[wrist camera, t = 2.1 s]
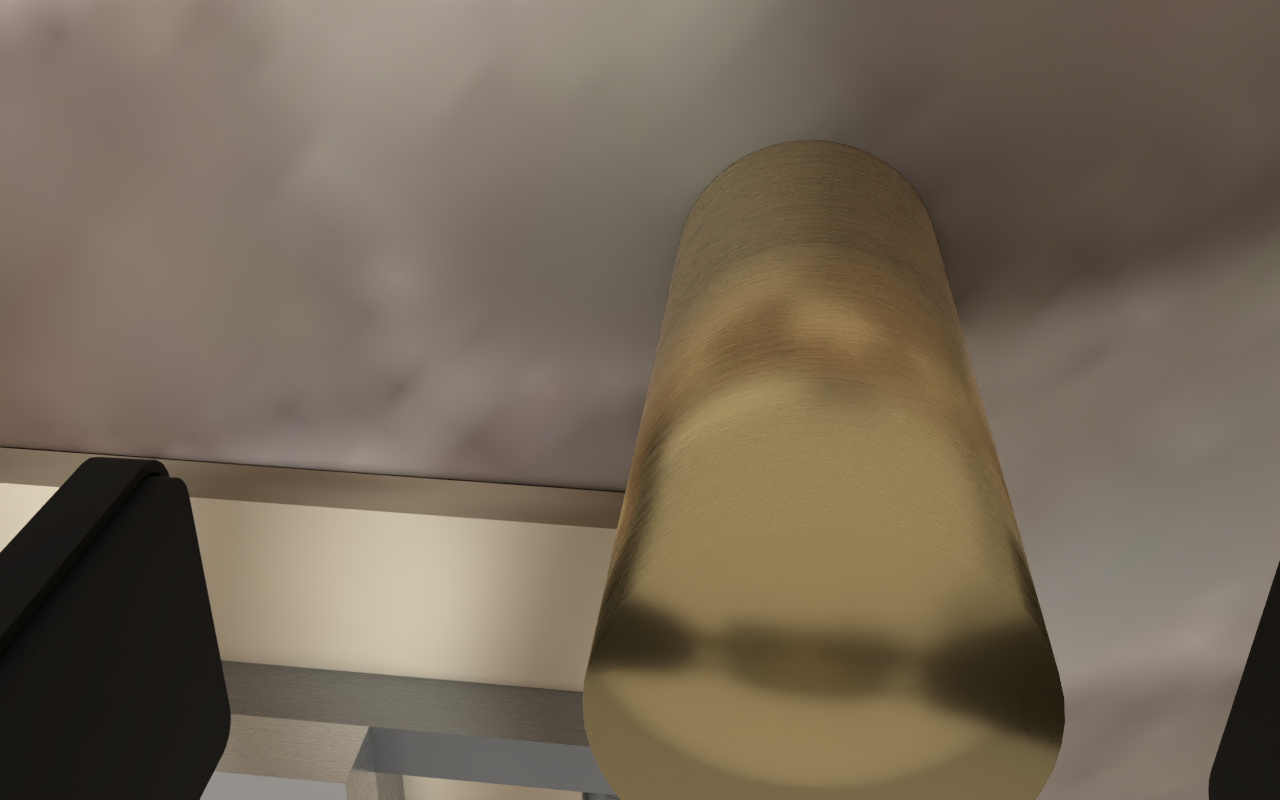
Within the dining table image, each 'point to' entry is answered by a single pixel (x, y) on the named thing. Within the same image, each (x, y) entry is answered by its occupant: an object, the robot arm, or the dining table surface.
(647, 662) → the brass pin
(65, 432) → the dining table surface
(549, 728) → the grey frame
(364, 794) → the grey flat barred piece
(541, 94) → the dining table surface
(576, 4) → the dining table surface
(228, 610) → the birch board
